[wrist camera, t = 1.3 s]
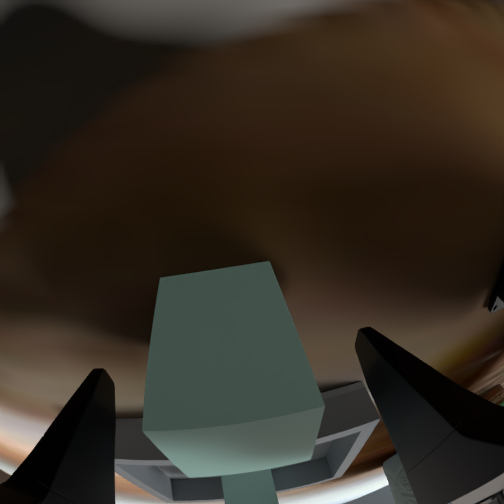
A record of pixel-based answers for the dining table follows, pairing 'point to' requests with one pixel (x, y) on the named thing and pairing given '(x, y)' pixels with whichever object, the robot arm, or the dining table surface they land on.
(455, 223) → the dining table surface
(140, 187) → the dining table surface
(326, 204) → the dining table surface
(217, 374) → the block
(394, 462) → the grey green cylinder
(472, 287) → the dining table surface
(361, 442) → the tray
